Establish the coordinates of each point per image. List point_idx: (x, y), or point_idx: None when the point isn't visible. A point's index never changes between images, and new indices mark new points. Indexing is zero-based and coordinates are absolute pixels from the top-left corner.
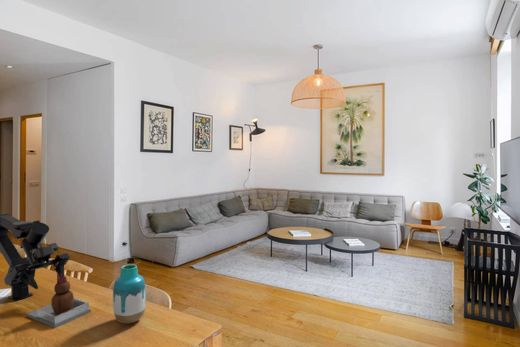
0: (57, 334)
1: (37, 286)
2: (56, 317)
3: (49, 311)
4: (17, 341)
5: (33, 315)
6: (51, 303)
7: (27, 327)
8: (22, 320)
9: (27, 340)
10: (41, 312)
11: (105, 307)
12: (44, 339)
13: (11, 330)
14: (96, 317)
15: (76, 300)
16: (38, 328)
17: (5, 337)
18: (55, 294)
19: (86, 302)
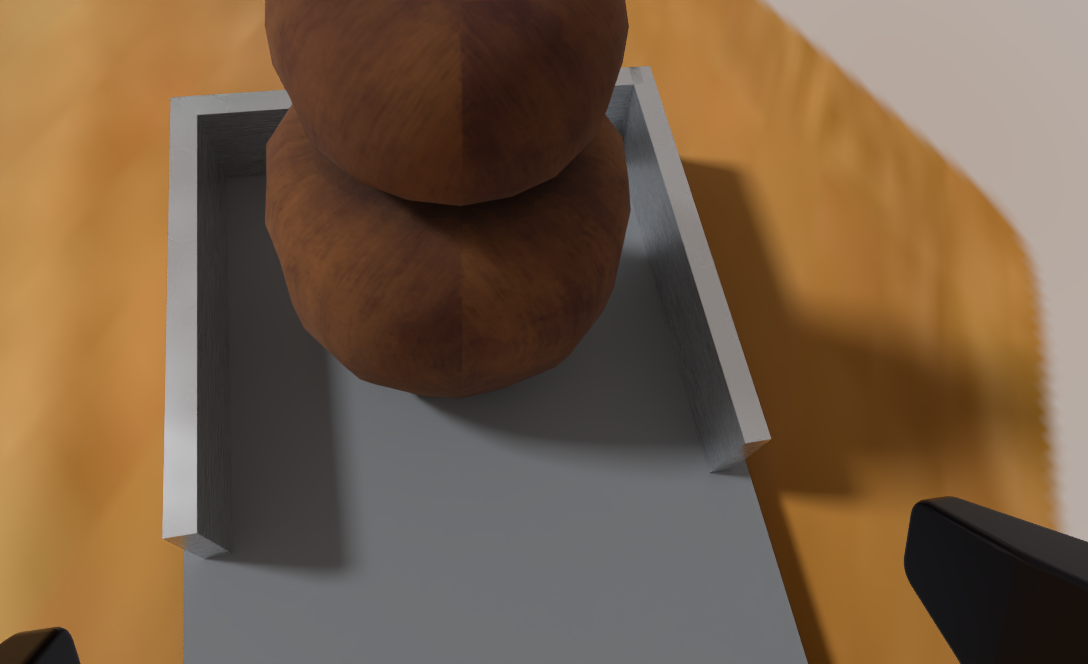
0: (649, 27)
1: (954, 504)
2: (628, 76)
3: (563, 516)
4: (938, 166)
5: (765, 563)
6: (610, 291)
7: (841, 366)
8: (873, 628)
9: (866, 120)
10: (730, 331)
11: (15, 144)
12: (752, 36)
13: (990, 434)
14: (253, 28)
15: (200, 339)
16: (753, 253)
17: (1035, 322)
18: (578, 161)
19: (183, 125)
